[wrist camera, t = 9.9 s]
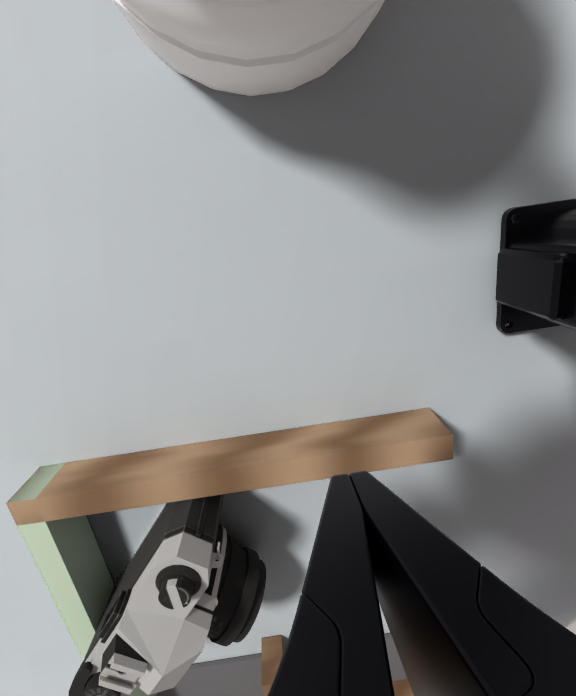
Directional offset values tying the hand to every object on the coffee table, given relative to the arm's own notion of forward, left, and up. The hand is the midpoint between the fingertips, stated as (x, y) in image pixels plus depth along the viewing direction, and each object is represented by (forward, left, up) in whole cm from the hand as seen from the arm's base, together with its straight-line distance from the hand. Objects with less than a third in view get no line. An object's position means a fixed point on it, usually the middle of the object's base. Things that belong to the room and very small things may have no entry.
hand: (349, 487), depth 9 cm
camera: (+9, +13, -12) cm, 20 cm away
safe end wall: (+16, +19, -12) cm, 27 cm away
